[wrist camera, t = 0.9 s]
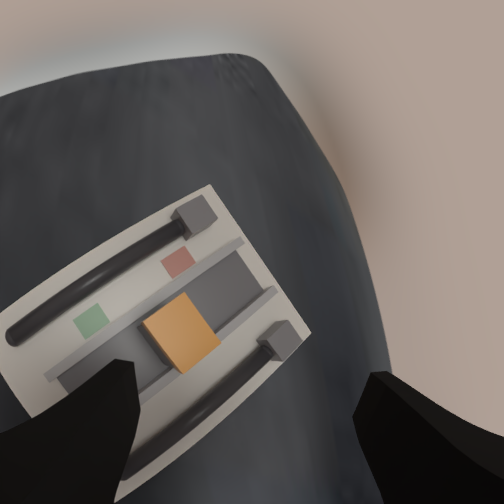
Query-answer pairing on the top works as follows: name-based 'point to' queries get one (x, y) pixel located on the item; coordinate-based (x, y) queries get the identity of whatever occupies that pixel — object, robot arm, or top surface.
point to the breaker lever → (179, 334)
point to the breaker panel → (141, 307)
